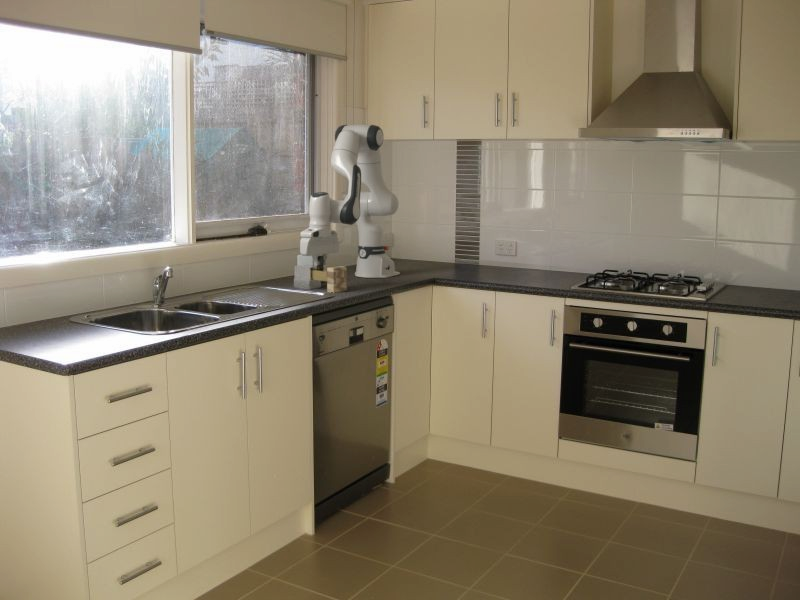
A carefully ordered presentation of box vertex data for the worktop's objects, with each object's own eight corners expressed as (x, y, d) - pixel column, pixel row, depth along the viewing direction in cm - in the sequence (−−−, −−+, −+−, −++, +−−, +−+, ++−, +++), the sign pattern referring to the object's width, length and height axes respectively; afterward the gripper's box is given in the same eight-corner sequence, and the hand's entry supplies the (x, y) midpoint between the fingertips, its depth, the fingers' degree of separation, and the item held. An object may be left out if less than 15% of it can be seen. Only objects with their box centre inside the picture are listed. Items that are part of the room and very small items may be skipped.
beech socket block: (340, 289, 362) (340, 265, 361) (346, 290, 360) (346, 266, 359) (327, 291, 356) (327, 267, 355) (333, 292, 354) (333, 268, 353)
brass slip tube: (306, 277, 371) (306, 253, 369) (333, 280, 362) (333, 256, 360) (299, 278, 368) (299, 254, 366) (326, 281, 358) (326, 257, 357)
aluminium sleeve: (305, 285, 374) (305, 264, 372) (320, 287, 368) (320, 266, 367) (294, 287, 368) (293, 266, 367) (309, 289, 363) (309, 267, 362)
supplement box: (313, 284, 376) (313, 255, 374) (296, 284, 378) (296, 255, 376) (318, 282, 383) (318, 253, 381) (302, 281, 385) (301, 253, 383)
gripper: (331, 230, 370) (331, 262, 372) (297, 233, 354) (297, 266, 356) (342, 230, 366) (342, 263, 369) (308, 233, 350) (309, 268, 353)
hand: (320, 265), depth 362 cm, fingers closed on brass slip tube, 3 cm apart
